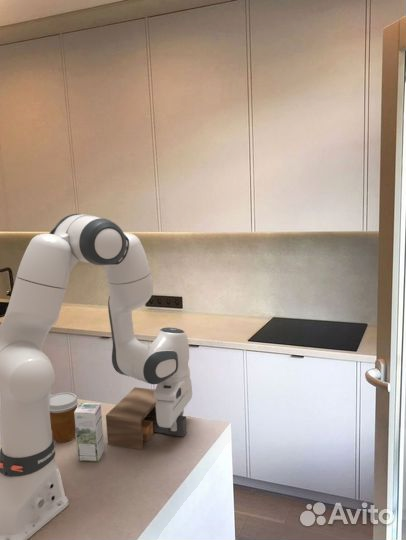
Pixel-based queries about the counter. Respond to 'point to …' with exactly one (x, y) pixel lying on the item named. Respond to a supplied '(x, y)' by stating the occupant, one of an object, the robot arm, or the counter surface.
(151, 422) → the orange block
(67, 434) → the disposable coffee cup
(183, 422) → the metal crook
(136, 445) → the walnut cubby
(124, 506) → the counter surface
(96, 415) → the syrup box
